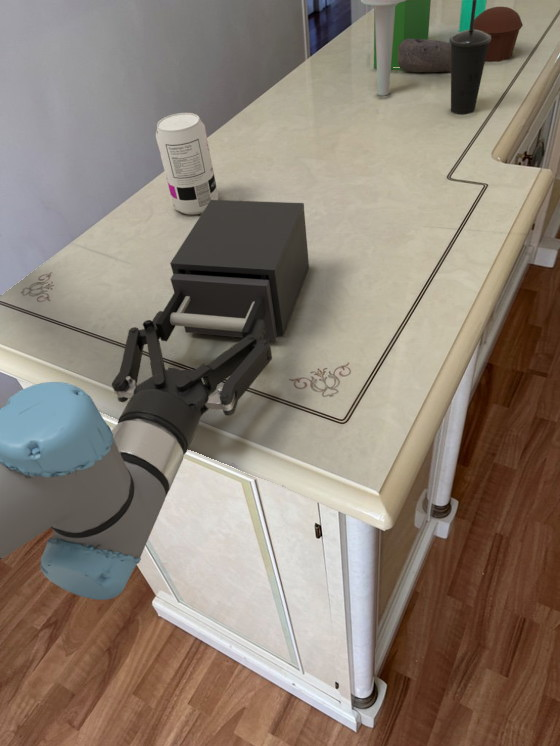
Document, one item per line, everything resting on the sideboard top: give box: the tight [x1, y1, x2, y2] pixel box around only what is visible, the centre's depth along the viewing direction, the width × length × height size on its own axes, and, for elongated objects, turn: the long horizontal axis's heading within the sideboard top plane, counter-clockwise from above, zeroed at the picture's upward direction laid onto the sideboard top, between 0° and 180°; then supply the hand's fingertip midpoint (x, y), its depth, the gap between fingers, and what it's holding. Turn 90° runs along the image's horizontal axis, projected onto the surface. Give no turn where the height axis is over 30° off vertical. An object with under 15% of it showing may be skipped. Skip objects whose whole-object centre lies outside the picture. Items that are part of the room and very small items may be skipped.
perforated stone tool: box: [397, 38, 451, 73], centre depth 138 cm, size 15×5×7 cm, turn 70°
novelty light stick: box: [360, 0, 406, 97], centre depth 125 cm, size 10×10×25 cm
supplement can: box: [155, 112, 220, 216], centre depth 101 cm, size 8×8×15 cm
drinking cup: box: [449, 0, 491, 115], centre depth 116 cm, size 8×8×20 cm
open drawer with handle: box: [169, 270, 277, 342], centre depth 78 cm, size 20×13×9 cm, turn 166°
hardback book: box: [373, 0, 432, 71], centre depth 141 cm, size 18×7×24 cm, turn 150°
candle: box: [458, 0, 488, 33], centre depth 149 cm, size 6×6×12 cm
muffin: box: [473, 6, 523, 63], centre depth 140 cm, size 12×11×10 cm
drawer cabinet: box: [169, 199, 310, 337], centre depth 82 cm, size 16×14×11 cm
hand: (220, 302), depth 74 cm, fingers open, 10 cm apart
